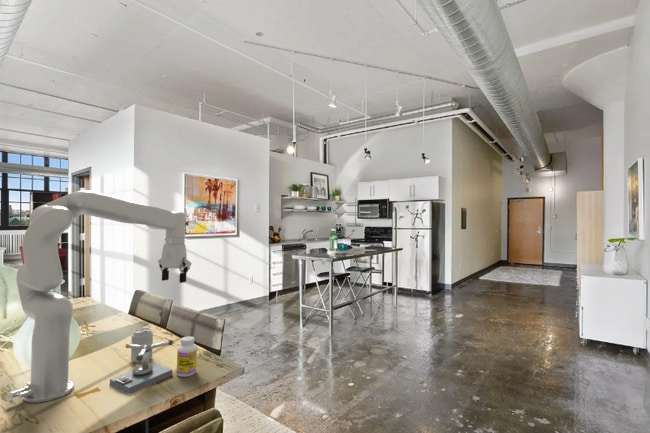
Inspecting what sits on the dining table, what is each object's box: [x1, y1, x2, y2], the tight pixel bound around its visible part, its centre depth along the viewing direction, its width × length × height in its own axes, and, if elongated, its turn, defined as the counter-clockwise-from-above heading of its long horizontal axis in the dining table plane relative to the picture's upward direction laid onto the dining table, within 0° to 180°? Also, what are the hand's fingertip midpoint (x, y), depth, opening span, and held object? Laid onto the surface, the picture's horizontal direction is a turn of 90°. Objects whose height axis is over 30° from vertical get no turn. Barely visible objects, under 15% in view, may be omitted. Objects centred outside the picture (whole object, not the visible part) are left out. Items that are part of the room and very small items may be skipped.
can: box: [130, 327, 154, 364], centre depth 138 cm, size 8×8×12 cm
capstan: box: [125, 339, 174, 376], centre depth 123 cm, size 14×17×10 cm
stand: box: [109, 362, 173, 395], centre depth 121 cm, size 16×11×4 cm
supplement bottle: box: [176, 335, 198, 378], centre depth 127 cm, size 7×7×13 cm
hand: (173, 281), depth 147 cm, fingers open, 9 cm apart
